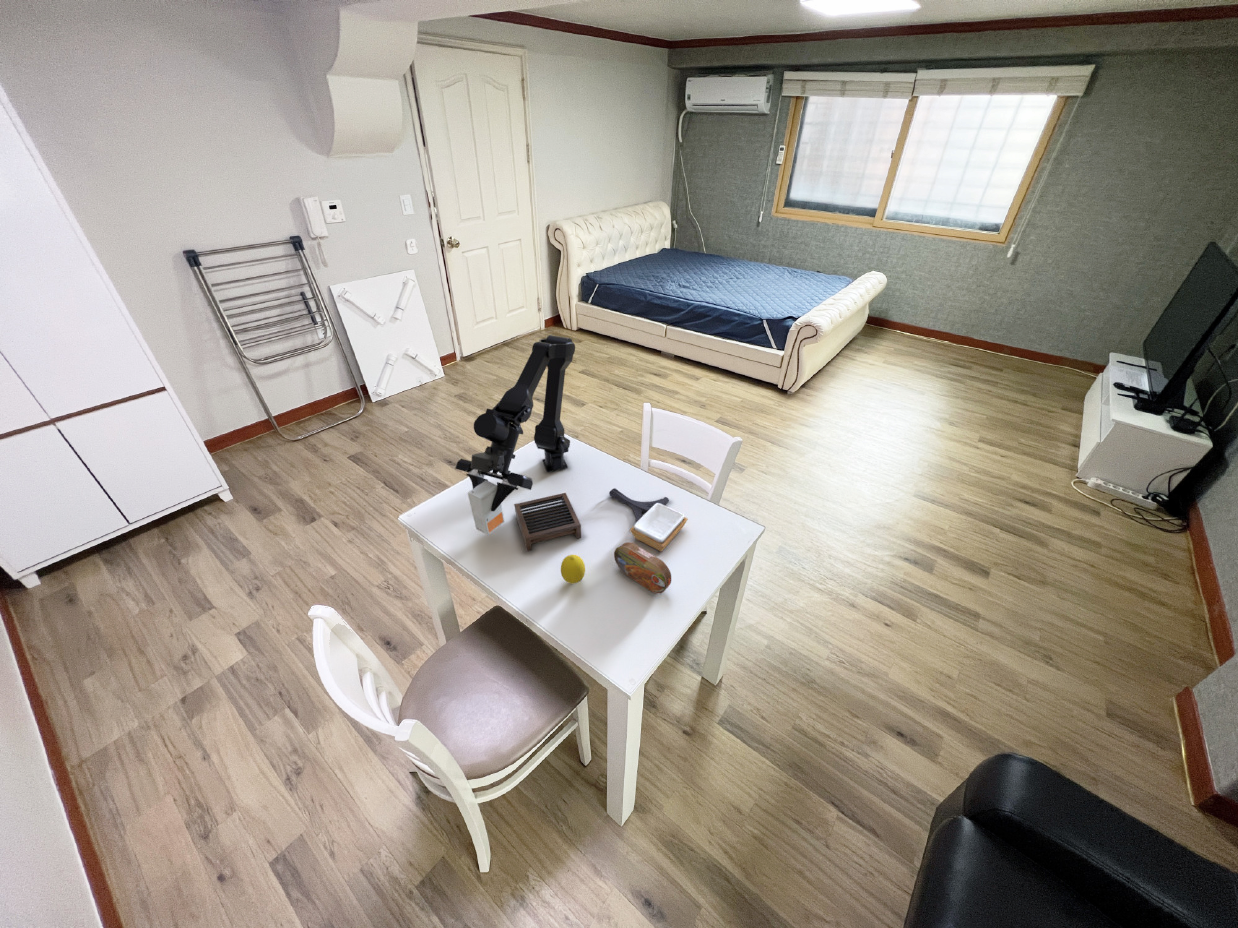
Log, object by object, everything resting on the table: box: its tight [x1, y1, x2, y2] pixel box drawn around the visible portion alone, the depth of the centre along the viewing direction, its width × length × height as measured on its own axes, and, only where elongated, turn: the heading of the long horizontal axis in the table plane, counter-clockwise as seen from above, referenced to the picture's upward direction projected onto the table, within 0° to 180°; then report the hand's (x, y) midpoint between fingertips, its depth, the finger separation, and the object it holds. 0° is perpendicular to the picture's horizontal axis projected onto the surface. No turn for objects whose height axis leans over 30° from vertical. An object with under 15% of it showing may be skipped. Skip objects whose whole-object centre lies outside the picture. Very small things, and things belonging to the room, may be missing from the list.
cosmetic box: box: [467, 479, 505, 536], centre depth 119 cm, size 6×4×12 cm
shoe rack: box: [513, 492, 582, 552], centre depth 126 cm, size 14×14×4 cm
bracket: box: [608, 487, 669, 525], centre depth 134 cm, size 14×15×3 cm
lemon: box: [560, 554, 586, 585], centre depth 111 cm, size 6×6×8 cm
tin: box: [613, 541, 672, 594], centre depth 111 cm, size 15×3×8 cm, turn 49°
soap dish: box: [629, 503, 689, 553], centre depth 124 cm, size 12×10×5 cm
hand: (483, 508), depth 118 cm, fingers closed on cosmetic box, 4 cm apart
